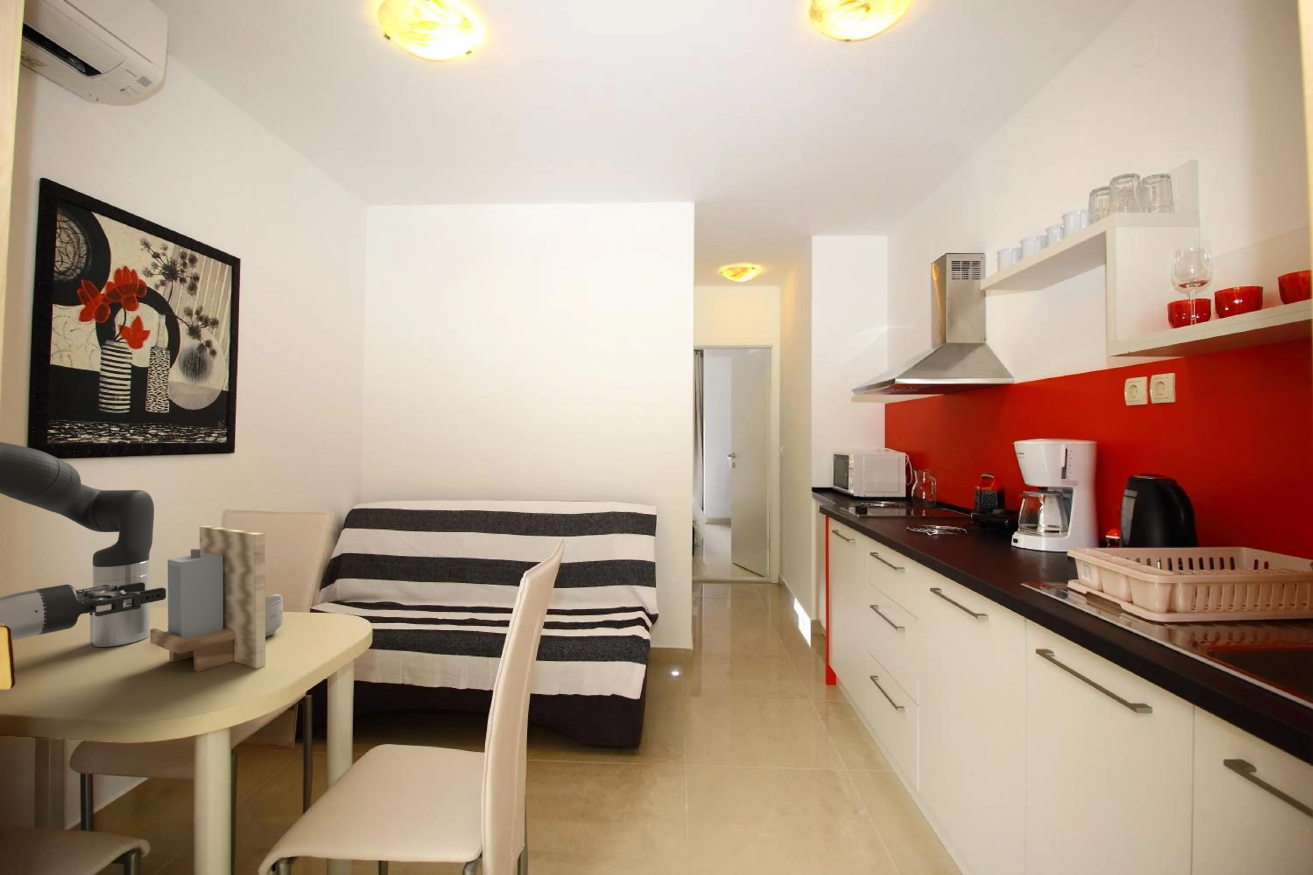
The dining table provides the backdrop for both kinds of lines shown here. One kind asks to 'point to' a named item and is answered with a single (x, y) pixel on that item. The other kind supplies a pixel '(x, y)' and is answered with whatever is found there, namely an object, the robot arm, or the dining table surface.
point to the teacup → (273, 613)
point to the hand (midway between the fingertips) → (154, 590)
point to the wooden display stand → (229, 604)
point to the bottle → (195, 594)
